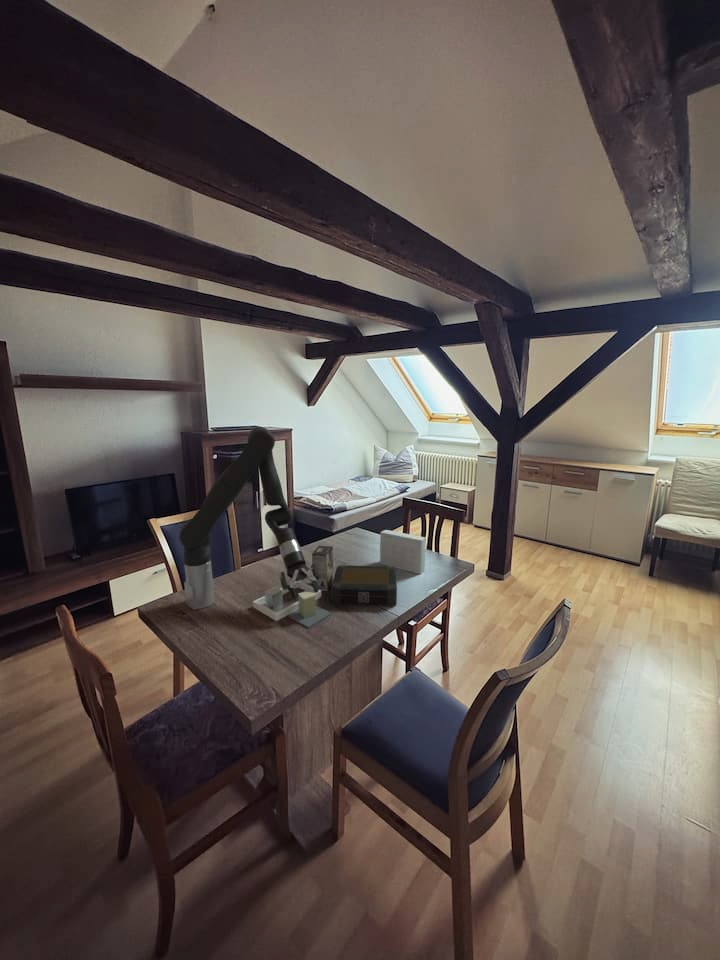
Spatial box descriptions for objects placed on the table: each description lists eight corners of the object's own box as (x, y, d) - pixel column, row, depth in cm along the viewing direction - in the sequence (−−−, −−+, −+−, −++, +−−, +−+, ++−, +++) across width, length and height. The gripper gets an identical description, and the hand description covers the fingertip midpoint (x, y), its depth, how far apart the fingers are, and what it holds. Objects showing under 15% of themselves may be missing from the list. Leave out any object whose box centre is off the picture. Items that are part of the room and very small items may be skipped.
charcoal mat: (308, 628, 130) (308, 626, 130) (288, 616, 137) (288, 615, 137) (331, 614, 138) (331, 613, 138) (310, 604, 145) (310, 602, 145)
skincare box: (425, 570, 173) (426, 537, 170) (420, 574, 169) (421, 541, 165) (384, 559, 184) (385, 528, 181) (379, 563, 180) (379, 532, 177)
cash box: (330, 606, 144) (330, 587, 143) (337, 581, 164) (337, 564, 162) (396, 608, 142) (397, 589, 141) (395, 582, 162) (395, 565, 161)
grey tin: (273, 613, 139) (272, 595, 137) (265, 609, 142) (264, 591, 140) (283, 608, 142) (282, 590, 141) (275, 604, 145) (274, 586, 144)
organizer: (276, 621, 134) (275, 614, 134) (253, 607, 143) (253, 601, 143) (321, 596, 151) (321, 590, 150) (298, 585, 159) (298, 580, 159)
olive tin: (304, 618, 135) (303, 598, 133) (298, 612, 139) (298, 593, 137) (315, 614, 137) (315, 595, 136) (310, 608, 141) (309, 589, 139)
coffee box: (319, 579, 165) (318, 544, 161) (333, 581, 163) (333, 546, 160) (312, 590, 156) (311, 553, 152) (327, 591, 155) (327, 554, 151)
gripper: (276, 554, 136) (290, 597, 130) (312, 546, 144) (327, 586, 137) (271, 563, 142) (285, 604, 135) (306, 554, 150) (320, 593, 143)
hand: (306, 595), depth 136 cm, fingers open, 8 cm apart
